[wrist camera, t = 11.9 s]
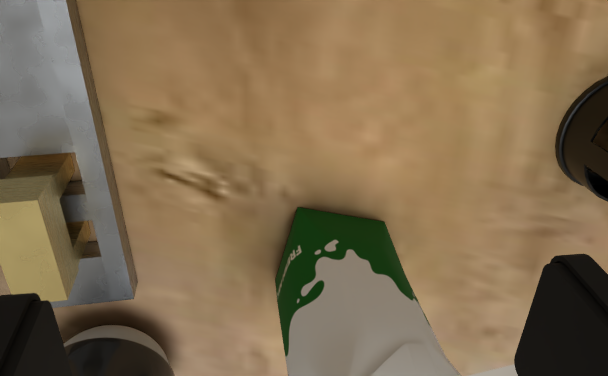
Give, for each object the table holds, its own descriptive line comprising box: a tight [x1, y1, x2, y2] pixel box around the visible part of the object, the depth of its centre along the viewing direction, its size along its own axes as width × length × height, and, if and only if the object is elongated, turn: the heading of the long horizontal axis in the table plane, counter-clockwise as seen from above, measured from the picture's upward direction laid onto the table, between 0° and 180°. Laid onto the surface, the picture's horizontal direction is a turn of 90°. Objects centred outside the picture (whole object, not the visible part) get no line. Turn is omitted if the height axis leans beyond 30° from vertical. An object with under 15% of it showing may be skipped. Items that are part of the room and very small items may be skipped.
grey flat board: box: [0, 0, 137, 308], centre depth 33 cm, size 26×8×2 cm, turn 1°
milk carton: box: [275, 207, 461, 376], centre depth 33 cm, size 9×9×20 cm
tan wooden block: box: [0, 153, 91, 302], centre depth 33 cm, size 7×3×7 cm, turn 1°
